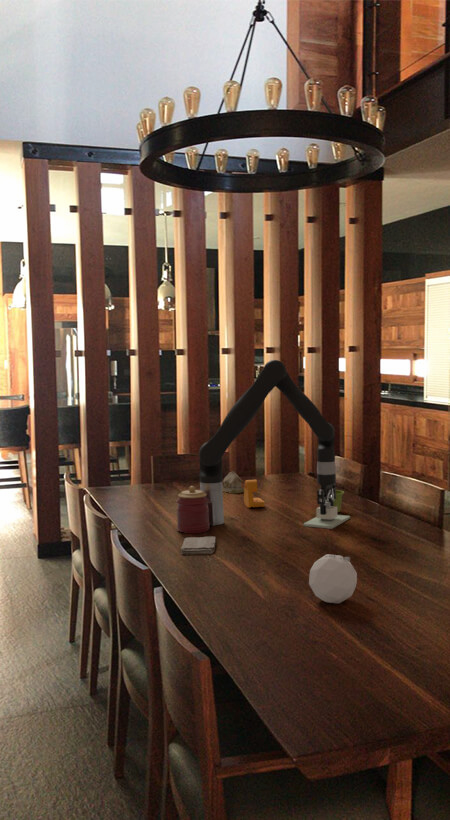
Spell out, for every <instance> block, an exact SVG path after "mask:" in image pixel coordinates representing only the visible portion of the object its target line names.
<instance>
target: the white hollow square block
mask: <svg viewBox="0 0 450 820" xmlns="http://www.w3.org/2000/svg"><path fill="white" fill-rule="evenodd" d="M330 507H331V509H326V514H325V515H321V514H320V506H319V507H316V510H315V511H316V512H315V513H316V517H317V518H320V519H331V520H332V519H333V518H335V517H337V515H338V512H337V506H330Z"/></svg>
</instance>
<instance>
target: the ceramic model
mask: <svg viewBox="0 0 450 820" xmlns="http://www.w3.org/2000/svg"><path fill="white" fill-rule="evenodd" d="M242 483H243V480H242V478H241V477H240V476H239V475H238V474H237V473H236V472H235V471H233V470H232V471H231V472H228V473H227V475H226V476H224V478H223V491H225V492H224V493H226V492H230V493H229V494H241V493H244V488H245V487H242Z"/></svg>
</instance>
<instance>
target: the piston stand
mask: <svg viewBox="0 0 450 820" xmlns="http://www.w3.org/2000/svg"><path fill="white" fill-rule="evenodd" d="M326 509H331V507H330V502H326ZM349 519H351V516H350V515H343V514H337V517H335V518H333V519H332V520H331V519H320V518H317V516H315V517H314V518H312V519H309V520H308V521H305V522H304V523H303V527H308V528H309V527H311V528H318V529H320V528H321V529H329V530H331V529H332V530H333V529H334V528H336V527H337V526H339V525H341V524H343V523H344V522H346V521H348V520H349Z"/></svg>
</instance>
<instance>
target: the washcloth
mask: <svg viewBox="0 0 450 820" xmlns="http://www.w3.org/2000/svg"><path fill="white" fill-rule="evenodd" d="M216 542H217V541H216V536H203V537H201V536H200V537H194V536H193V537H185V538H184V539H183V542H182V545H181V547H180V552H181V553H180V554H181V555H189V554H190V555H212V554H213V553H214V552H215V548H216Z"/></svg>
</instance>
